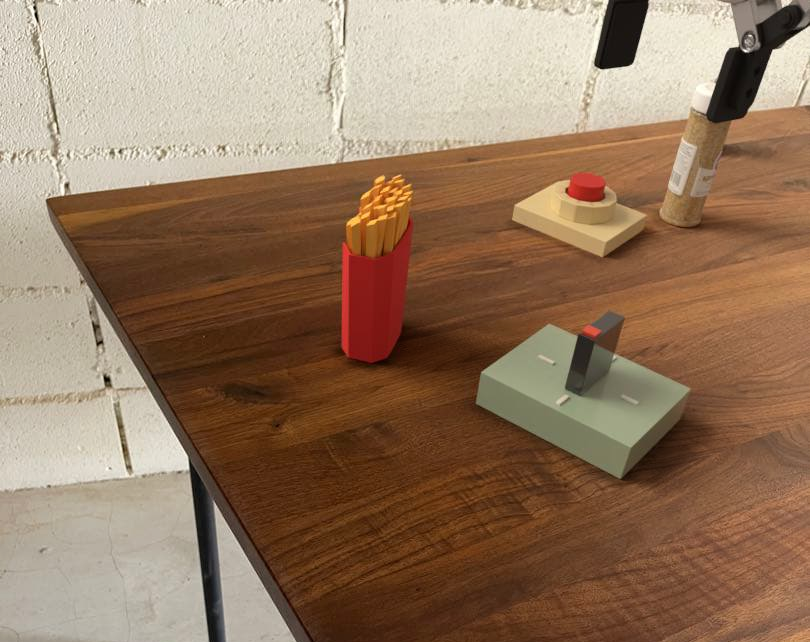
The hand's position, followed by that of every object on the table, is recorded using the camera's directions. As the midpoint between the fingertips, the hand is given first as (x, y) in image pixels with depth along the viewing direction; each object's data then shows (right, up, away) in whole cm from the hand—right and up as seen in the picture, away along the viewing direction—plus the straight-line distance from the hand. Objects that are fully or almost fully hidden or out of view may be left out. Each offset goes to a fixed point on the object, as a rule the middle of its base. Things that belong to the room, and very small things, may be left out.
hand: (666, 91), depth 56 cm
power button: (+2, +7, +35) cm, 36 cm away
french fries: (-20, -12, +19) cm, 29 cm away
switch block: (+2, +5, +38) cm, 38 cm away
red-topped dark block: (-3, -16, +12) cm, 20 cm away
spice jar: (+13, +7, +41) cm, 43 cm away
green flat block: (-3, -18, +14) cm, 23 cm away
